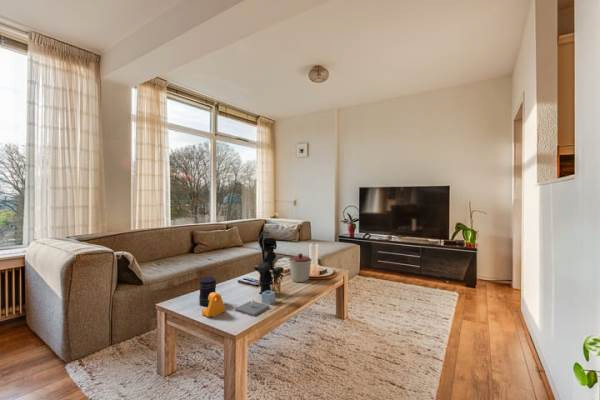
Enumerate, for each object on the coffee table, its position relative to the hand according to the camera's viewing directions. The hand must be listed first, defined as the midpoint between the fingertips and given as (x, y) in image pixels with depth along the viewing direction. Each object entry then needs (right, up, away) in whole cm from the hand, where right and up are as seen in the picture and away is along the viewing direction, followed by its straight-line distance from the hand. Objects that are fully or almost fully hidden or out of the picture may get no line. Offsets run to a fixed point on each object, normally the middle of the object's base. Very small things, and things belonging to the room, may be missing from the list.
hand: (268, 282), depth 177 cm
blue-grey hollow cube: (0, -13, 0) cm, 13 cm away
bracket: (-29, -13, -17) cm, 36 cm away
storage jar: (-37, -13, -3) cm, 39 cm away
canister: (+20, -12, +44) cm, 50 cm away
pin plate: (-8, -13, -11) cm, 19 cm away
